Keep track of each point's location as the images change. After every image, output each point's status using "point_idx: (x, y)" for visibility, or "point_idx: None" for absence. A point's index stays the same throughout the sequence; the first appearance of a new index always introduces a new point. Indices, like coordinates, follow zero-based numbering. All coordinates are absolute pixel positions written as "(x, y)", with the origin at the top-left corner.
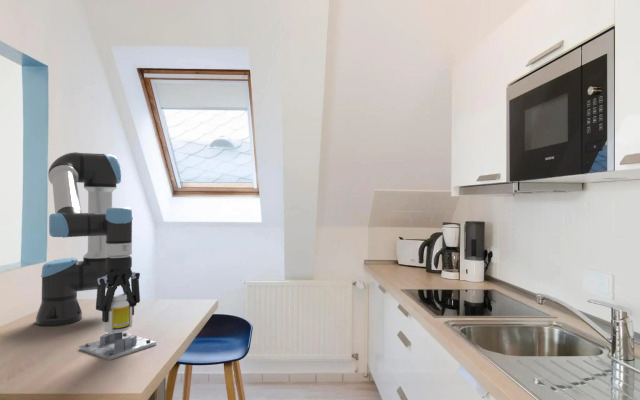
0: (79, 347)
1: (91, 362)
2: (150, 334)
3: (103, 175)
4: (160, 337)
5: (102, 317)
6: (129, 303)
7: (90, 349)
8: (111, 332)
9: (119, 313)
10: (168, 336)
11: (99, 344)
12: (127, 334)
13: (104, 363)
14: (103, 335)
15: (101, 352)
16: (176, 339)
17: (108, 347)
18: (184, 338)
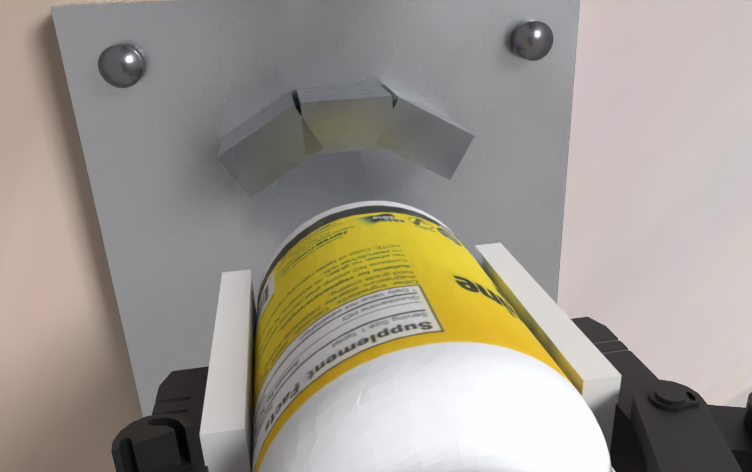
0: (54, 9)
1: (39, 392)
2: (697, 126)
3: None
4: (673, 260)
5: (154, 414)
6: (636, 462)
7: (103, 194)
8: (377, 99)
9: None
10: (716, 284)
11: (225, 118)
12: (556, 39)
13: (105, 465)
14: (266, 135)
15: (147, 332)
16: (687, 380)
17: (243, 261)
18: (725, 399)
